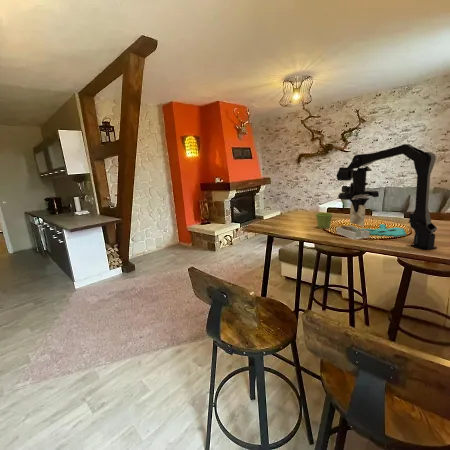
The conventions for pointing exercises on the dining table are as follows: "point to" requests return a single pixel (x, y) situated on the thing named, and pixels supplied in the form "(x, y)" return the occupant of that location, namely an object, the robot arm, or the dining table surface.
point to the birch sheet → (357, 215)
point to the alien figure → (387, 231)
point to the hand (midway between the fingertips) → (357, 212)
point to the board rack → (353, 233)
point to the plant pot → (324, 219)
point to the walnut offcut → (346, 227)
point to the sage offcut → (356, 231)
